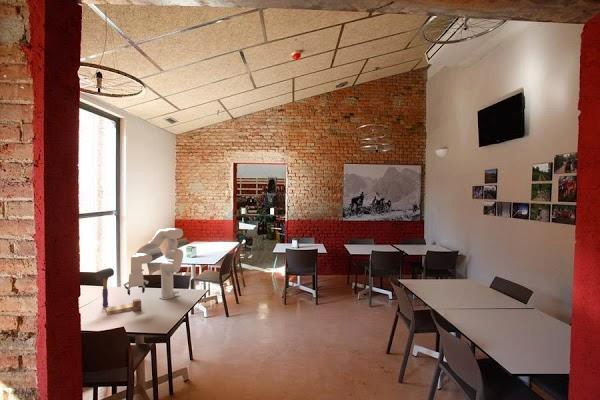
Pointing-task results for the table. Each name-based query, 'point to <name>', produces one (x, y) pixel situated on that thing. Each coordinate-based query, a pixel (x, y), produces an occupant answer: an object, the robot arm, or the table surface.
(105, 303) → the rubber mallet
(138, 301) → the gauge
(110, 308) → the board
